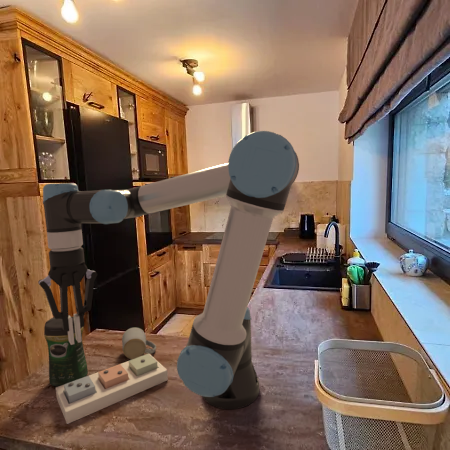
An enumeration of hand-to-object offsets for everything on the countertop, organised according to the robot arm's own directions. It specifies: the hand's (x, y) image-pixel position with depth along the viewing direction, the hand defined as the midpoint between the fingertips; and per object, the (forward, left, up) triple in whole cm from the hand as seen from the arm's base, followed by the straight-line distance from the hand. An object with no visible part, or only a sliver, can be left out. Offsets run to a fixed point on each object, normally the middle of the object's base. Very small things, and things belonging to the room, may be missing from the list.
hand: (75, 341), depth 80 cm
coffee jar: (+13, 0, -17) cm, 21 cm away
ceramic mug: (+14, -21, -17) cm, 30 cm away
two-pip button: (0, -9, -15) cm, 17 cm away
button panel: (0, -9, -16) cm, 18 cm away
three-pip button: (0, 0, -15) cm, 15 cm away
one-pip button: (0, -17, -15) cm, 22 cm away
